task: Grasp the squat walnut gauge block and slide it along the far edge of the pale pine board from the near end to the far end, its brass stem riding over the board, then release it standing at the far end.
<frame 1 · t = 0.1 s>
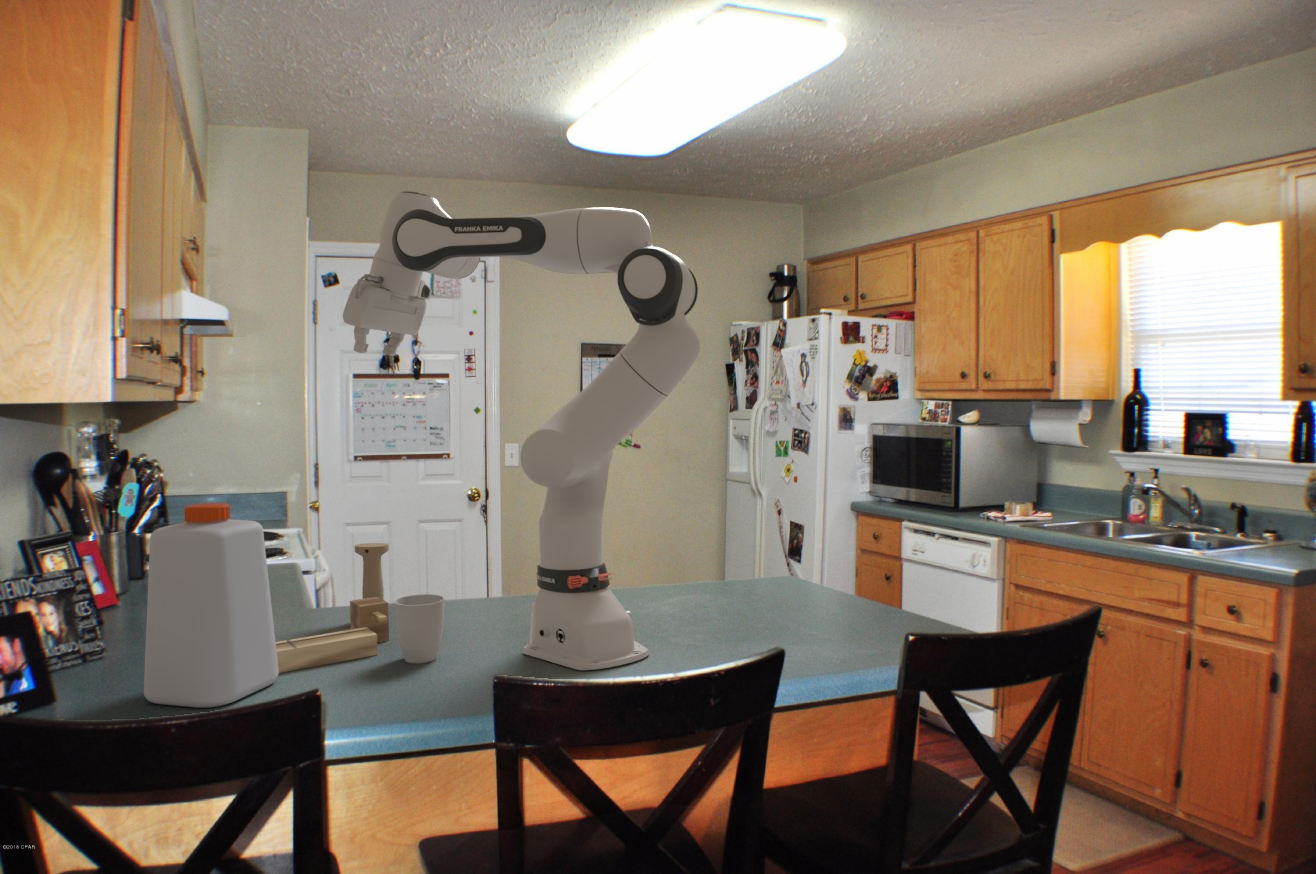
hand: (374, 353, 156), 52 cm above the counter, tool tilted 20°, fingers open, 8 cm apart
board: (324, 659, 143), on the counter
handle: (373, 621, 169), on the counter
gauge: (369, 639, 155), on the counter
cup: (421, 660, 142), on the counter
plastic bottle: (213, 692, 128), on the counter
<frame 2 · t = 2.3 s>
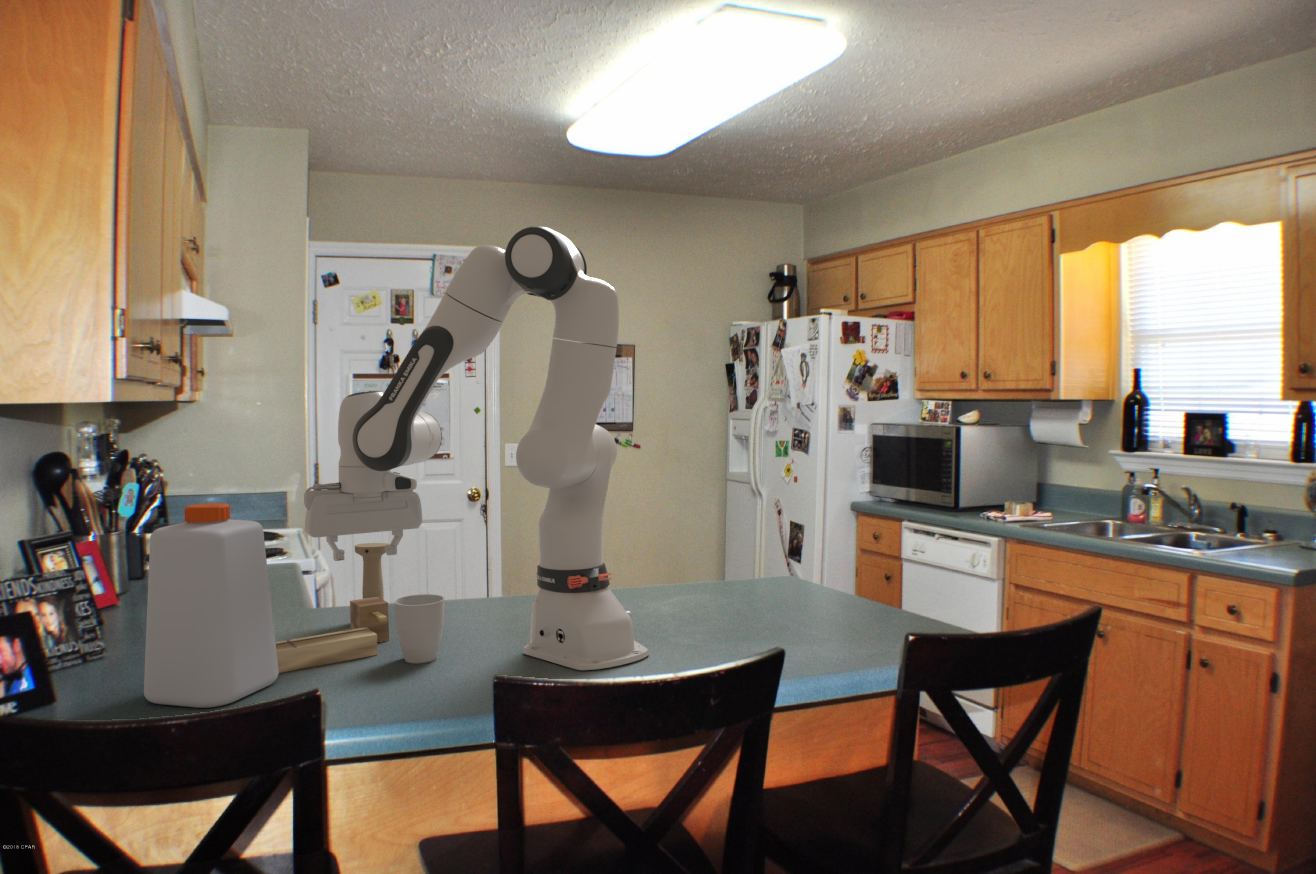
hand: (365, 557, 154), 15 cm above the counter, tool pointing down, fingers open, 8 cm apart
nothing on the counter moved.
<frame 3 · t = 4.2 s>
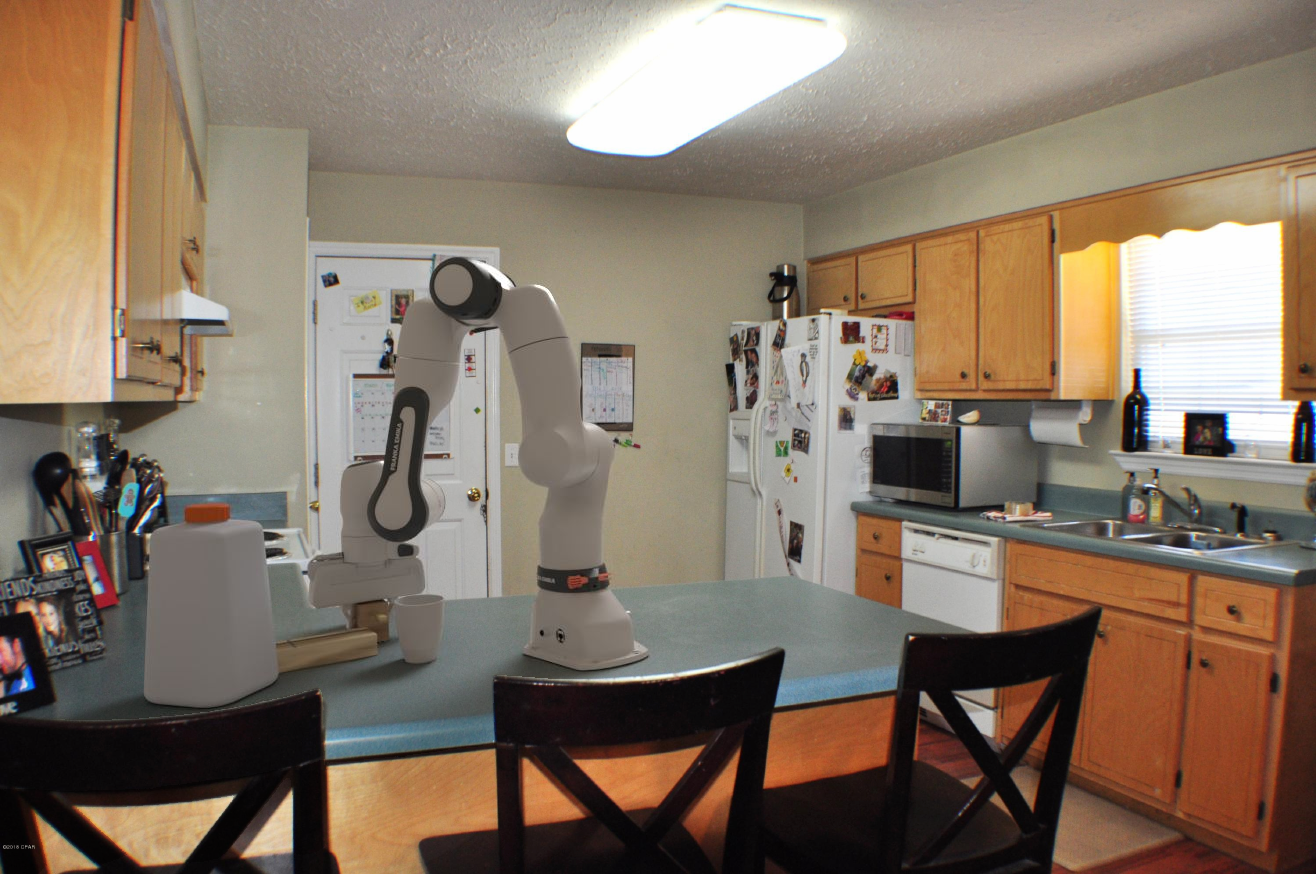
hand: (369, 625, 155), 3 cm above the counter, tool pointing down, fingers closed on gauge, 5 cm apart
gauge: (369, 639, 155), on the counter, touching gripper
everything else where it was.
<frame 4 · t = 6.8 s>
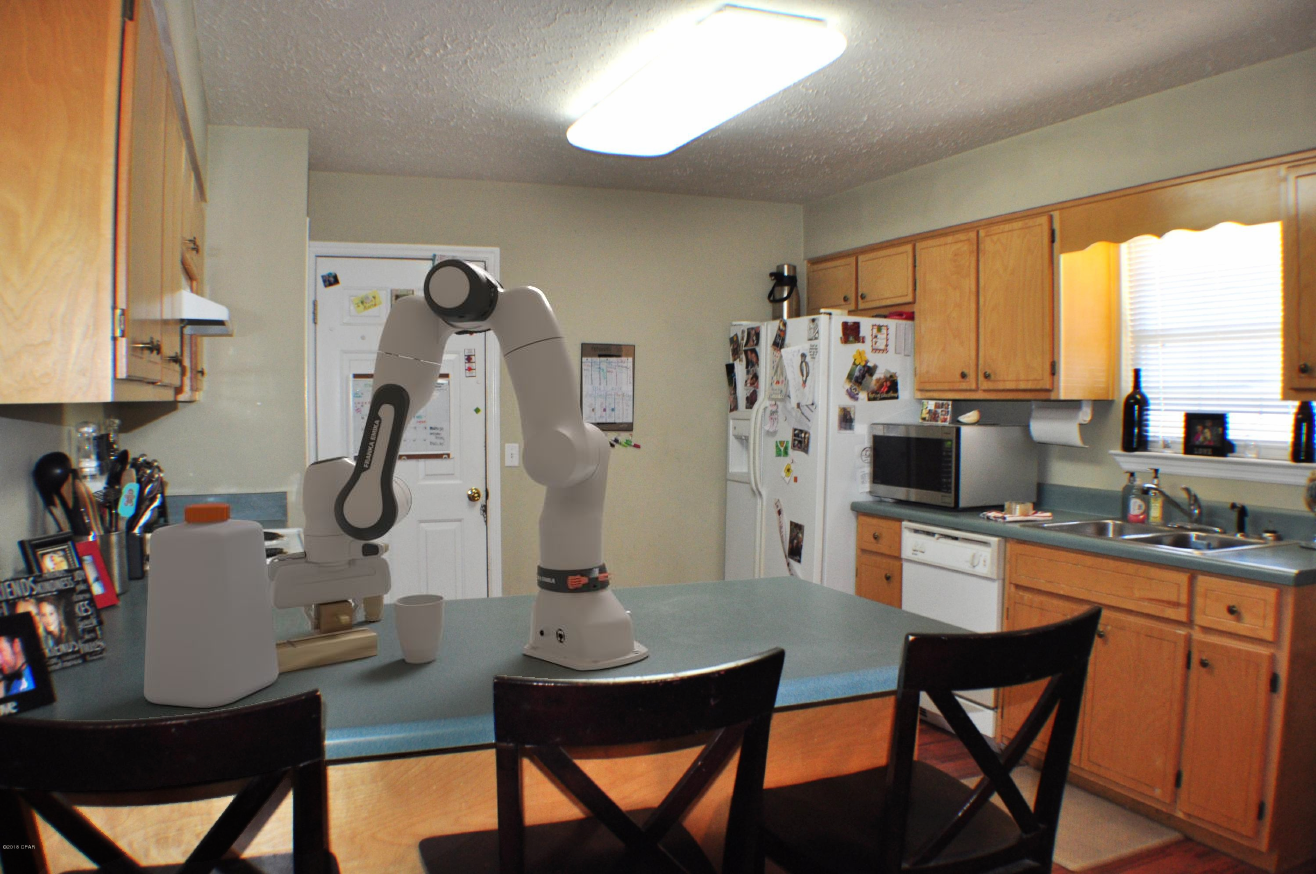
hand: (333, 626, 151), 3 cm above the counter, tool pointing down, fingers closed on gauge, 5 cm apart
gauge: (333, 640, 151), point 1 cm above the counter, touching gripper
everything else where it was.
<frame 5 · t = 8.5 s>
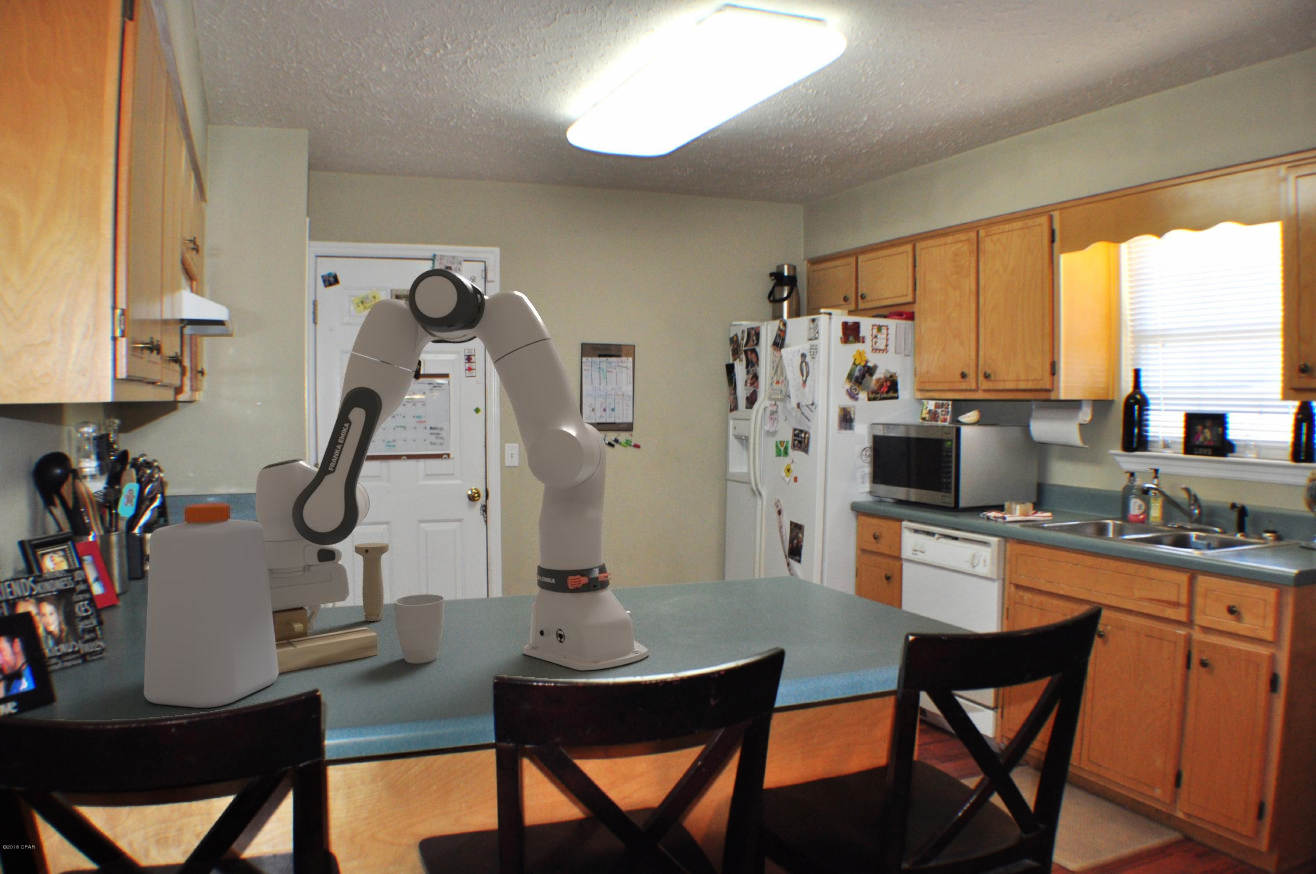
hand: (288, 634, 146), 3 cm above the counter, tool pointing down, fingers closed on gauge, 5 cm apart
gauge: (288, 649, 147), point 1 cm above the counter, touching gripper
everything else where it was.
when the fingers open (3 cm above the counter, at t = 9.7 s): gauge stays where it is, on the counter.
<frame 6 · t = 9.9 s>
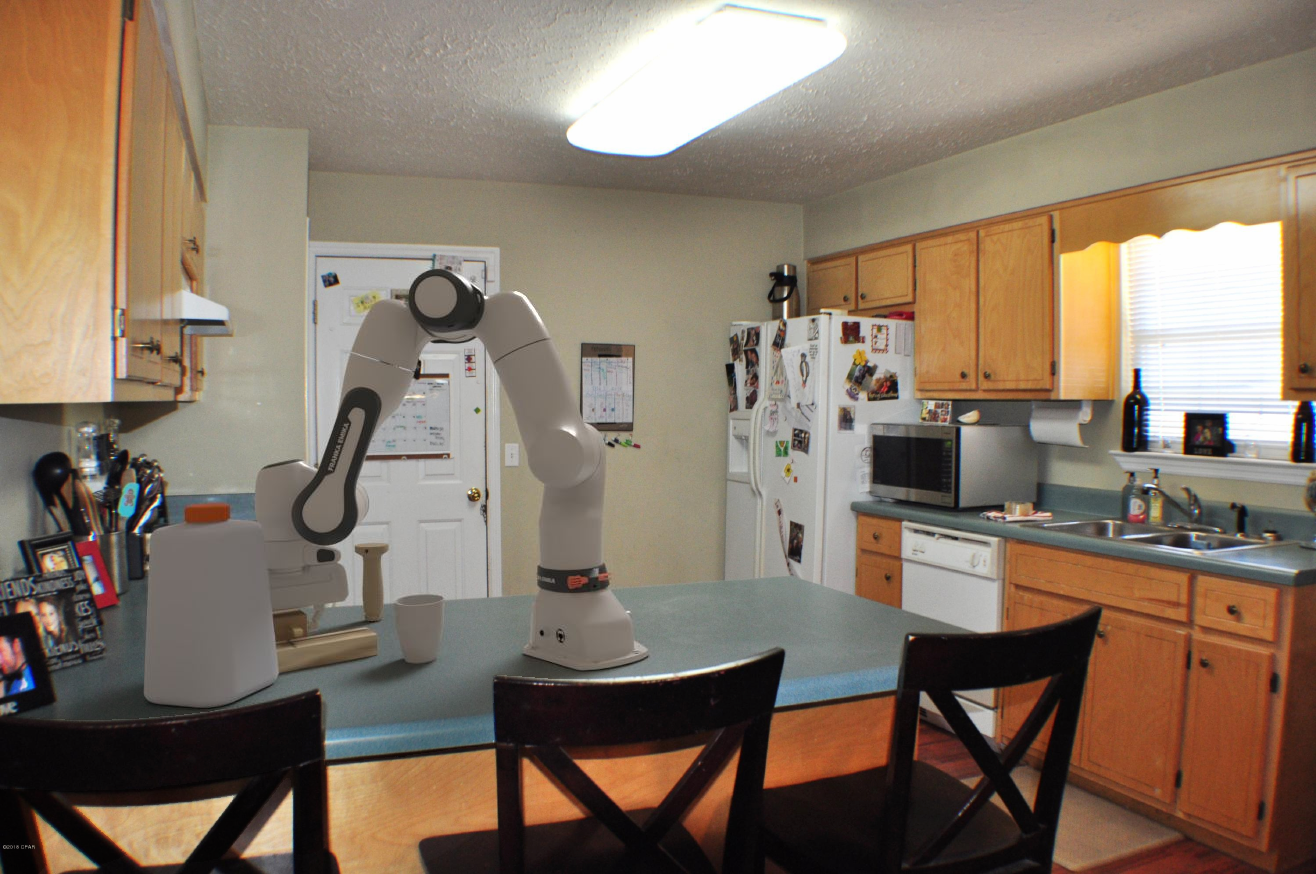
hand: (287, 634, 146), 3 cm above the counter, tool pointing down, fingers open, 7 cm apart
gauge: (288, 654, 146), on the counter
everything else where it was.
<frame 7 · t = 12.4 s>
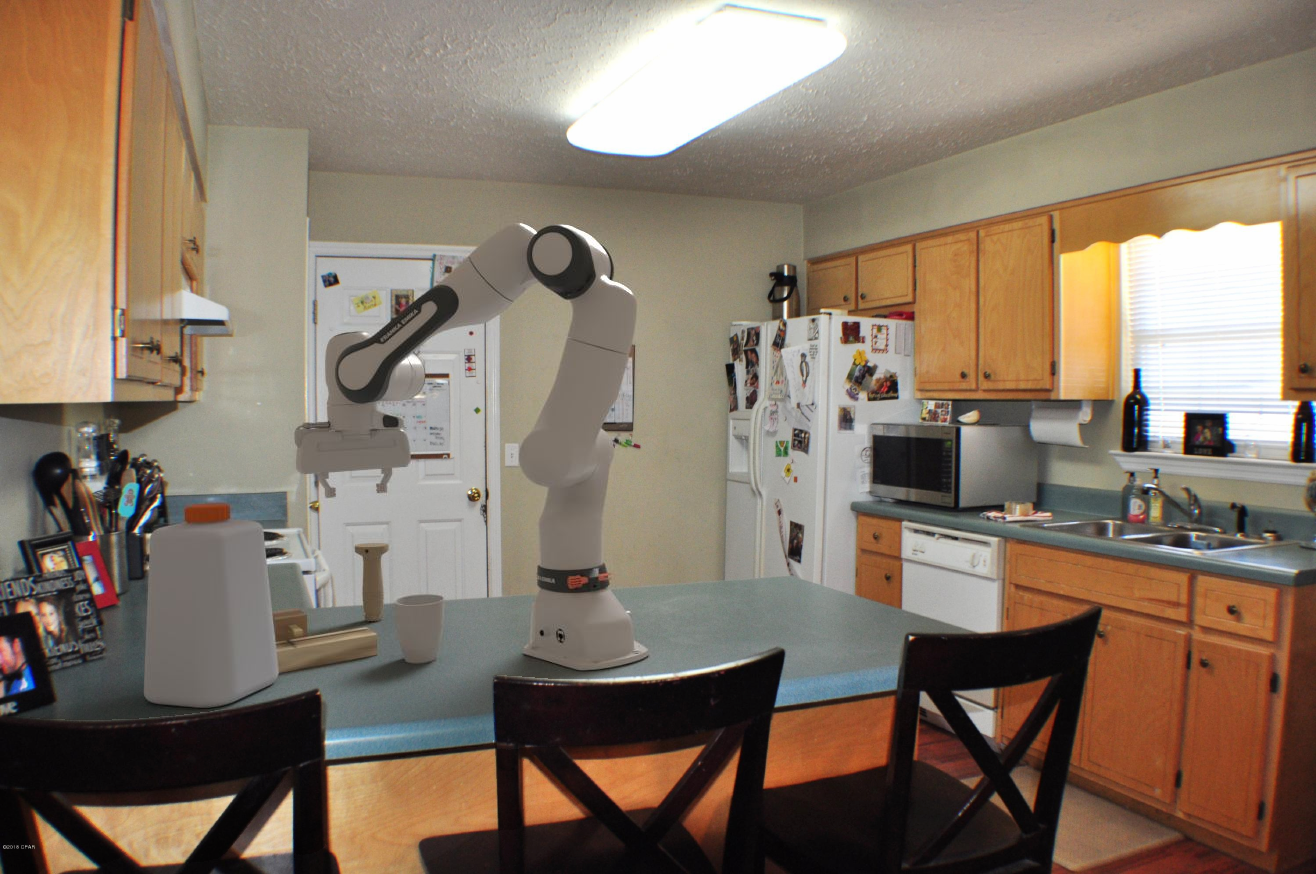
hand: (356, 495, 158), 26 cm above the counter, tool pointing down, fingers open, 8 cm apart
nothing on the counter moved.
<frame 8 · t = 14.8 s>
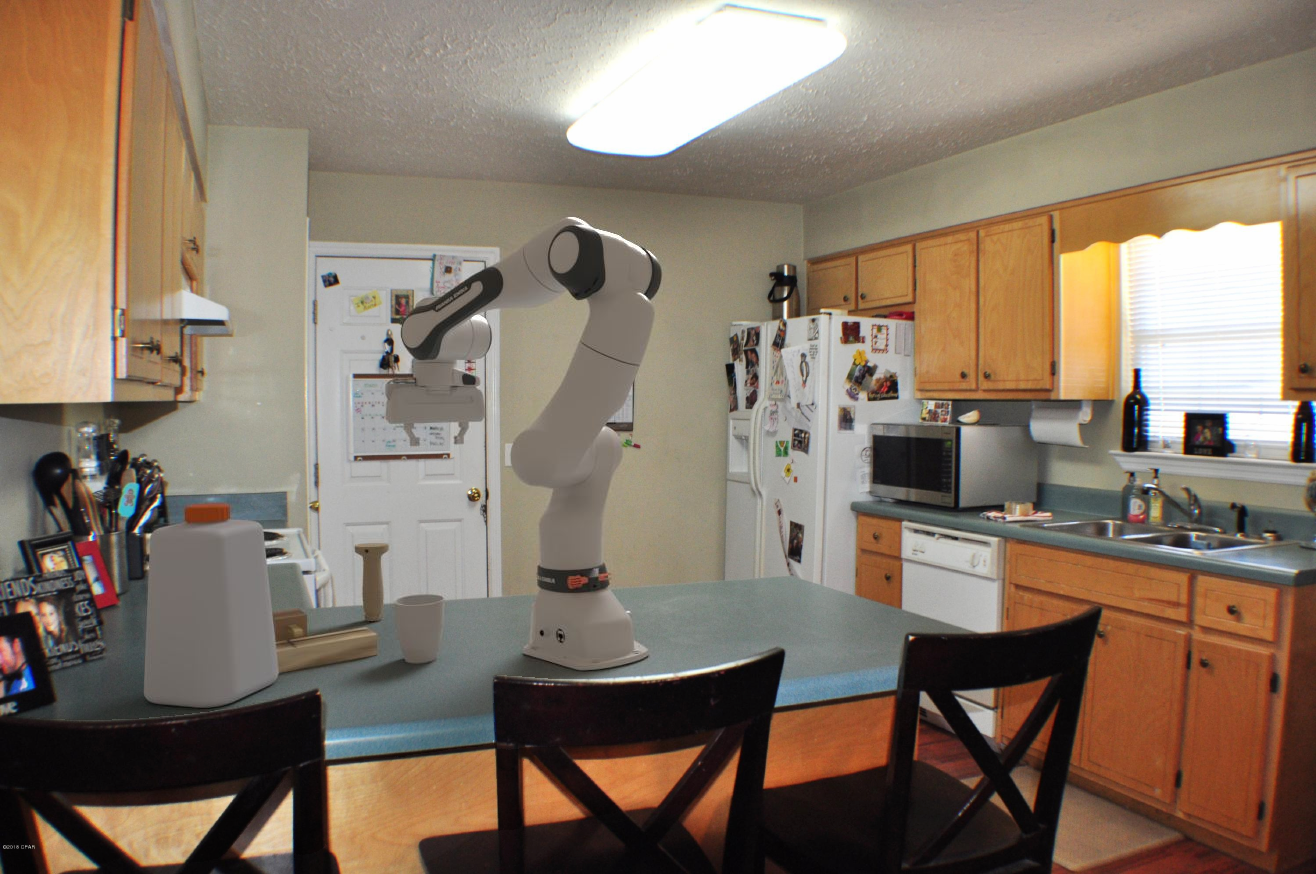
hand: (437, 445, 175), 34 cm above the counter, tool pointing down, fingers open, 8 cm apart
nothing on the counter moved.
at the end: gauge inside the target area (0.4 cm from its centre), on the counter; gauge tilted 0°; the gripper is holding nothing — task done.
